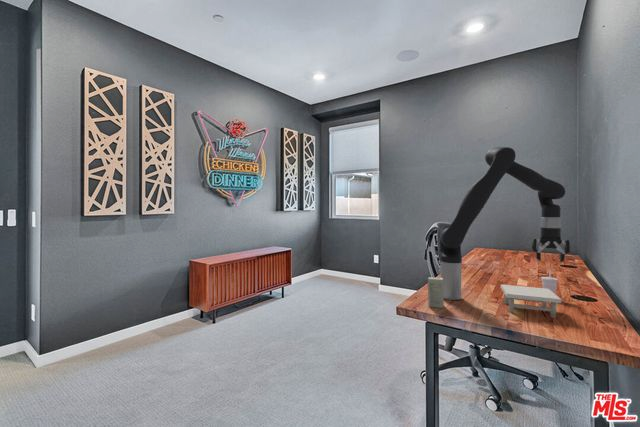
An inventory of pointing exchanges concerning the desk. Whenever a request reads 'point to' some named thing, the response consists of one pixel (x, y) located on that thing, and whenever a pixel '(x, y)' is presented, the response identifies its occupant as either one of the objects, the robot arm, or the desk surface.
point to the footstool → (530, 298)
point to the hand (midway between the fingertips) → (550, 261)
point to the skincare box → (435, 292)
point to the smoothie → (549, 282)
